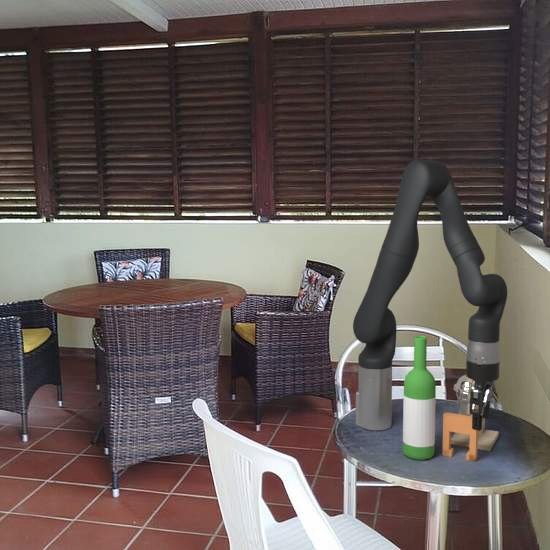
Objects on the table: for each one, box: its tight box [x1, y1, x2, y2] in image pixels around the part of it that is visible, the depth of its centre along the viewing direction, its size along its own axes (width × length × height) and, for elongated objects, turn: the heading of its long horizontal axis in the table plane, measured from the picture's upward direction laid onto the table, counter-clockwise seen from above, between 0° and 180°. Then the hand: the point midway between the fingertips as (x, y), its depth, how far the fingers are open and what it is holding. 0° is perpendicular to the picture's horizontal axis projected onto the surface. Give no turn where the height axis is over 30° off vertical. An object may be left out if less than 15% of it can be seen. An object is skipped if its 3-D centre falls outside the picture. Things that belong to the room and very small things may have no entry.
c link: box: [442, 411, 479, 462], centre depth 163 cm, size 8×2×10 cm, turn 61°
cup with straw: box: [453, 374, 472, 416], centre depth 184 cm, size 8×9×20 cm
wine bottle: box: [402, 335, 437, 461], centre depth 163 cm, size 8×8×30 cm
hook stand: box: [451, 376, 500, 452], centre depth 171 cm, size 10×14×20 cm
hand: (480, 423), depth 160 cm, fingers open, 8 cm apart
